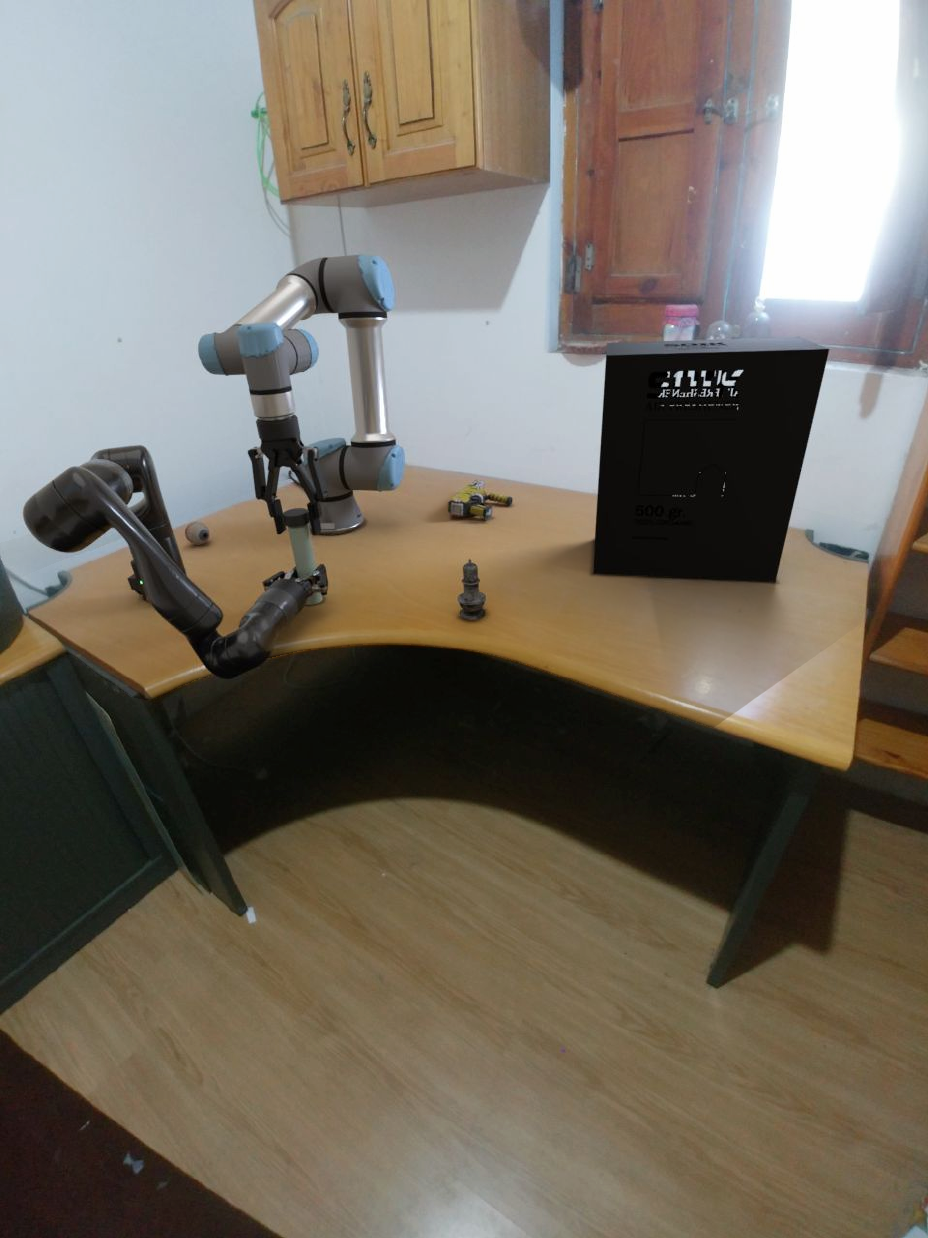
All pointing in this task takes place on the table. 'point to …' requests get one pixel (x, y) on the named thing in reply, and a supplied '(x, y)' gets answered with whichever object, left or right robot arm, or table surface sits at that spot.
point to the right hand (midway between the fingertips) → (299, 532)
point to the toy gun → (475, 501)
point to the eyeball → (197, 533)
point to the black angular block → (703, 455)
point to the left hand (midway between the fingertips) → (312, 567)
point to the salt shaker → (471, 594)
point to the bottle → (304, 556)
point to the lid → (296, 517)
